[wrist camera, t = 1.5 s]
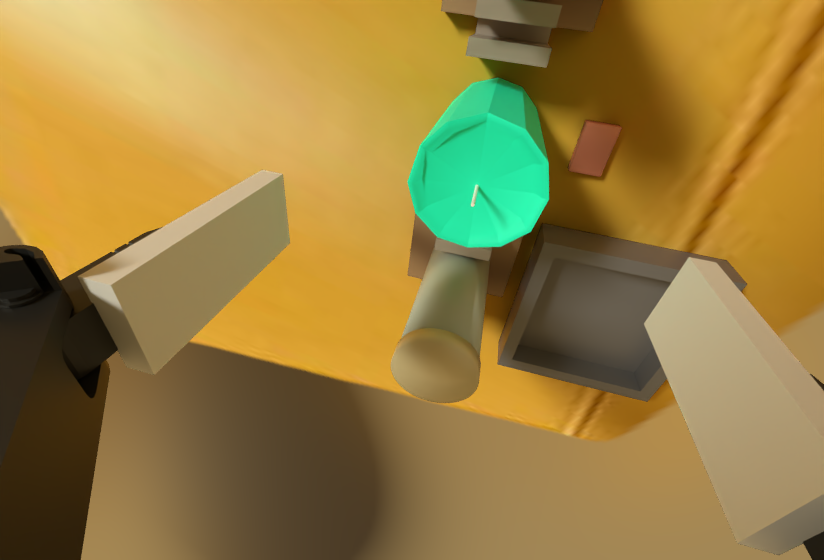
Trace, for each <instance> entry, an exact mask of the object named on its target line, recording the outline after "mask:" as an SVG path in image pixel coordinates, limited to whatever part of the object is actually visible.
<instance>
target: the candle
mask: <svg viewBox="0 0 824 560" xmlns="http://www.w3.org/2000/svg"><path fill="white" fill-rule="evenodd" d="M408 186H409V190H410V194H411V198H412V202H413V205H414V209H415V213H416V214H417V216H418V217H419V218H420V219H421V220H422V221H423V222H424V223H425V224H426V225H427V227H428V228H429V229H430V230H431V231H432V232H433V233H434V234H435V235H436V236H437V237H438V238H441V239H444V240H447V241H450V242H453V243H456V244H459V245H462V246H464V247H467V248H472V247H501V246H503V245H505V244H507V243H509V242H511V241H513V240H515V239H517V238H519V237H521V236H523V235H525V234H527V233H529V232H531V231H532V229H533V227H534V225H535V223H536V222H537V220H538V218H539V216H540V215H541V213H542V211H543V209H544V207H545V206H546V204H547V202H548V200H549V162H548V157H547V153H546V148H545V144H544V139H543V135H542V130H541V126H540V121H539V116H538V112H537V108H536V106H535V105H534V103H533V102H532V100H531V99H530V97H529V96H528V94H527V93H526V92H525V90H524V89H523V87H522V86H519V85H517V84H514V83H511V82H509V81H506V80H504V79H501V78H499V77H498V78H493V79H489V80H484V81H479V82H475V83H472V84H471V85H470V86H469V87H468V88H467V89H465V90H464V91H463V92H462V93H461V94H460V95H459V96H458V97H457V98H456V99H455V100H454V101H453V102H452V103H451V104H450V106H449V107H448V108H447V110H446V111H445V112H444V114H443V115H442V116H441V118H440V119H439V121H438V122H437V123H436V125H435V126H434V127H433V129H432V130H431V131H430V133H429V134H428V135H427V137H426V138H425V139H424V141H423V142H422V143H421V145H420V146H419V149H418V152H417V155H416V158H415V161H414V164H413V167H412V170H411V173H410V176H409V179H408Z"/></svg>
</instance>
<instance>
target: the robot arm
mask: <svg viewBox="0 0 824 560" xmlns="http://www.w3.org/2000/svg"><path fill="white" fill-rule="evenodd" d="M288 244H290V238H289V228H288V219H287V209H286V199H285V190H284V180H283V174H281V173H276V172H271V171H266V170H261V171H259V172H258V173H256V174H254V175H252V176H251V177H249V178H247V179H245V180H244V181H242V182H240V183H238V184H237V185H235V186H233V187H232V188H230V189H228V190H226V191H225V192H223V193H221V194H219V195H218V196H216V197H214V198H212V199H211V200H209V201H207V202H206V203H204V204H202V205H200V206H199V207H197V208H195V209H193V210H192V211H190V212H188V213H187V214H185V215H183V216H181V217H180V218H178V219H176V220H174V221H173V222H171V223H169V224H167V225H166V226H164V227H161V228H158V229H155V230H152V231H149V232H146V233H144V234H142V235H140V236H138V237H137V238H135V239H133V240H131V241H130V242H129V244H128V245H127V244H124V245H123V246H121V247H119V248H117V249H115V252H114V253H113V252H110V253H108V254H107V255H105V256H103V257H101V258H100V259H98V260H96V261H94V262H92V263H91V264H89V265H87V266H85V267H84V268H82V269H80V270H78V271H76V272H75V273H73V274H71V275H69V276H68V277H66V278H64V279H62V280H61V281H60V280H59V278H58V277H57V275H56V273H55V272H54V270H53V268H52V266H51V265H50V263H49V261H48V260H47V258H46V256H45V254H44V253H43V251H41V250H40V249H38V248H37V247H33V246H27V245H11V246H3V247H0V560H81V554H82V547H83V541H84V534H85V528H86V521H87V515H88V509H89V503H90V496H91V490H92V483H93V477H94V471H95V464H96V457H97V451H98V444H99V438H100V432H101V425H102V419H103V412H104V407H105V400H106V394H107V387H108V381H109V375H110V368H109V364H108V362H107V361H106V359H107V358H109V357H110V356H111V355H112V354H114V353H115V352H116V351H117V350H118V352H119V354H120V356H121V358H122V360H123V361H124V363H125V365H126V367H128V368H132V369H135V370H139V371H142V372H146V373H149V374H152V375H155V374H156V373H157V372H158V371H159V370H160V369H161V368H162V367H163V366H164V365H165V364H166V363H167V362H168V361H169V360H170V359H171V358H172V357H173V356H174V355H175V354H176V353H177V352H178V351H179V350H180V349H182V347H183V346H185V345H186V344H187V343H188V342H189V341H190V340H191V339H192V338H193V337H194V336H195V335H196V334H197V333H198V332H199V331H200V330H201V329H202V328H203V327H204V326H205V325H206V324H207V323H208V322H209V321H210V320H211V319H212V318H213V317H214V316H215V315H216V314H218V313H219V312H220V311H221V310H222V309H223V308H224V307H225V306H226V305H227V304H228V303H229V302H230V301H231V300H232V299H233V298H234V297H235V296H236V295H237V294H238V293H239V292H240V291H241V290H242V289H243V288H244V287H245V286H246V285H247V284H248V283H249V282H250V281H251V280H252V279H254V278H255V277H256V276H257V275H258V274H259V273H260V272H261V271H262V270H263V269H264V268H265V267H266V266H267V265H268V264H269V263H270V262H271V261H272V260H273V259H274V258H275V257H276V256H277V255H278V254H279V253H280V252H281V251H282V250H283V249H284V248H285V247H286V246H287V245H288ZM644 325H645V328H646V330H647V332H648V335H649V337H650V339H651V342H652V344H653V346H654V349H655V351H656V354H657V356H658V358H659V361H660V363H661V365H662V368H663V370H664V372H665V375H666V377H667V379H668V382H669V384H670V387H671V389H672V391H673V394H674V396H675V398H676V401H677V403H678V405H679V408H680V410H681V412H682V415H683V417H684V420H685V422H686V424H687V426H688V429H689V431H690V434H691V436H692V438H693V440H694V443H695V445H696V448H697V450H698V452H699V455H700V457H701V459H702V462H703V464H704V467H705V469H706V471H707V474H708V476H709V478H710V481H711V483H712V485H713V488H714V490H715V493H716V495H717V497H718V500H719V502H720V504H721V507H722V509H723V511H724V514H725V516H726V518H727V521H728V523H729V525H730V528H731V530H732V532H733V535H734V537H735V540H736V542H737V543H738V544H742V545H745V546H748V547H752V548H755V549H759V550H762V551H766V552H769V553H773V554H776V555H780V554H783V553H785V552H787V551H789V550H791V549H793V548H795V547H797V546H799V545H801V544H803V543H804V545H805V547H806V549H807V551H808V553H809V554H810V556H811V558H812V560H824V384H823V383H821V382H820V381H819V380H817V379H816V378H815V377H814V376H813V375H811V374H809V373H808V371H806V369H805V368H804V367H803V366H802V364H801V363H800V362H799V361H798V360H797V358H796V357H795V356H794V355H793V354H792V352H791V351H790V350H789V349H788V348H787V346H786V345H785V344H784V343H783V342H782V340H781V339H780V338H779V337H778V336H777V334H776V333H775V332H774V331H773V330H772V328H771V327H770V326H769V325H768V324H767V322H766V321H765V320H764V319H763V318H762V316H761V315H760V314H759V313H758V312H757V310H756V309H755V308H754V307H753V306H752V305H751V303H750V302H749V301H748V300H747V299H746V297H745V296H744V295H743V294H742V293H741V291H740V290H739V289H738V288H737V287H736V285H735V284H734V283H733V282H732V281H731V279H730V278H729V277H728V276H727V275H726V273H725V272H724V271H723V270H722V269H721V267H720V266H719V265H718V264H717V263H716V262H711V261H707V260H702V259H697V258H692V257H689V258H688V259H687V261H686V262H685V264H684V265H683V267H682V268H681V270H680V271H679V273H678V274H677V275H676V277H675V278H674V280H673V281H672V283H671V284H670V286H669V287H668V289H667V290H666V292H665V293H664V295H663V296H662V298H661V299H660V301H659V302H658V304H657V305H656V307H655V308H654V310H653V311H652V312H651V314H650V315H649V317H648V318H647V320H646V321H645V323H644Z"/></svg>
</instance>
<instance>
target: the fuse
mask: <svg viewBox="0 0 824 560" xmlns="http://www.w3.org/2000/svg"><path fill="white" fill-rule="evenodd" d="M434 248H435V246H434ZM434 248H433V251H432V254H431V257H430V260H429V262H428V265H427V268H426V271H425V274H424V276H423V279H422V282H421V285H420V288H419V290H418V293H417V296H416V299H415V302H414V304H413V307H412V310H411V313H410V316H409V319H408V321H407V324H406V327H405V330H404V333H403V335H402V338H401V339H400V341H399V342H398V344H397V347H396V349H395V352H394V355H393V358H392V361H391V371H392V374H393V376H394V378H395V380H396V381H397V382H398V383H399V385H400V386H401V387H403V388H404V389H405V390H406V391H408V392H409V393H411V394H412V395H414V396H416V397H418V398H421V399H424V400H427V401H431V402H437V403H453V402H458V401H461V400H464V399H466V398H468V397H469V396H471V395H472V394H473V393H474V392H475V391H476V389H477V387H478V384H479V376H480V366H481V363H480V349H481V339H482V330H483V321H484V312H485V303H486V293H487V284H488V275H489V266H490V259H489V261H485V260H481V259H476V258H472V257H467V256H463V255H458V254H453V253H449V252H444V251H440V250H435V249H434ZM490 256H491V255H490Z"/></svg>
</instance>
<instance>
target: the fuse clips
mask: <svg viewBox="0 0 824 560" xmlns="http://www.w3.org/2000/svg"><path fill="white" fill-rule="evenodd" d="M602 3H603V0H442V7H441V11H444V12H451V13H458V14H465V15H473V16H474V17H478V21H477V27H476V33H475V34H473V35H471V36H469V40H468V46H467V51H466V56H473V57H479V58H486V59H492V60H499V61H505V62H512V63H519V64H525V65H532V66H538V67H545V68H547V64H548V61H549V57H550V54H551V51H552V48H551V47H550V46H549V45H548V40H549V36H550V33H551V29H552V28H556V27H559V28H566V29H573V30H581V31H588V32H593V29H594V26H595V23H596V20H597V17H598V15H599V12H600V9H601V6H602ZM621 129H622V127H621V126H620V125H614V124H608V123H602V122H596V121H590V120H585V123H584V126H583V128H582V131H581V134H580V136H579V139H578V142H577V144H576V147H575V150H574V152H573V155H572V158H571V160H570V163H569V166H568V170H569V171H572V172H577V173H583V174H588V175H594V176H599V177H601V175H602V172H603V170H604V168H605V165H606V163H607V161H608V159H609V156H610V154H611V152H612V149H613V147H614V145H615V143H616V140H617V138H618V136H619V134H620V131H621ZM522 238H523V236H521V237H519V238H517V239H515V240H513V241H511V242H509V243H507V244H505V245H503V246H501V247H472V248H467V247H464V246H462V245H459V244H456V243H453V242H450V241H447V240H444V239H441V238H438V237H437V236H436V235H435V234H434V233H433V232H432V231H431V230H430V229H429V228H428V227H427V225H426V224H425V223H424V222H423V221H422V220H421V219H420V218H419V217H418V216H417V214H416V213H415V221H414V229H413V237H412V245H411V252H410V260H409V268H408V276H412V277H416V278H420V279H423V276H424V274H425V271H426V268H427V265H428V262H429V260H430V257H431V254H432V251H433V248H434V246H435V248H434V249H435V250H440V251H444V252H449V253H453V254H458V255H463V256H467V257H472V258H476V259H481V260H485V261H489V259H490V266H489V275H488V284H487V293H486V294H490V295H495V296H499V297H503V294H504V291H505V288H506V285H507V282H508V279H509V276H510V273H511V270H512V267H513V265H514V262H515V259H516V256H517V253H518V250H519V247H520V244H521V241H522ZM490 255H491V256H490Z"/></svg>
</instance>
